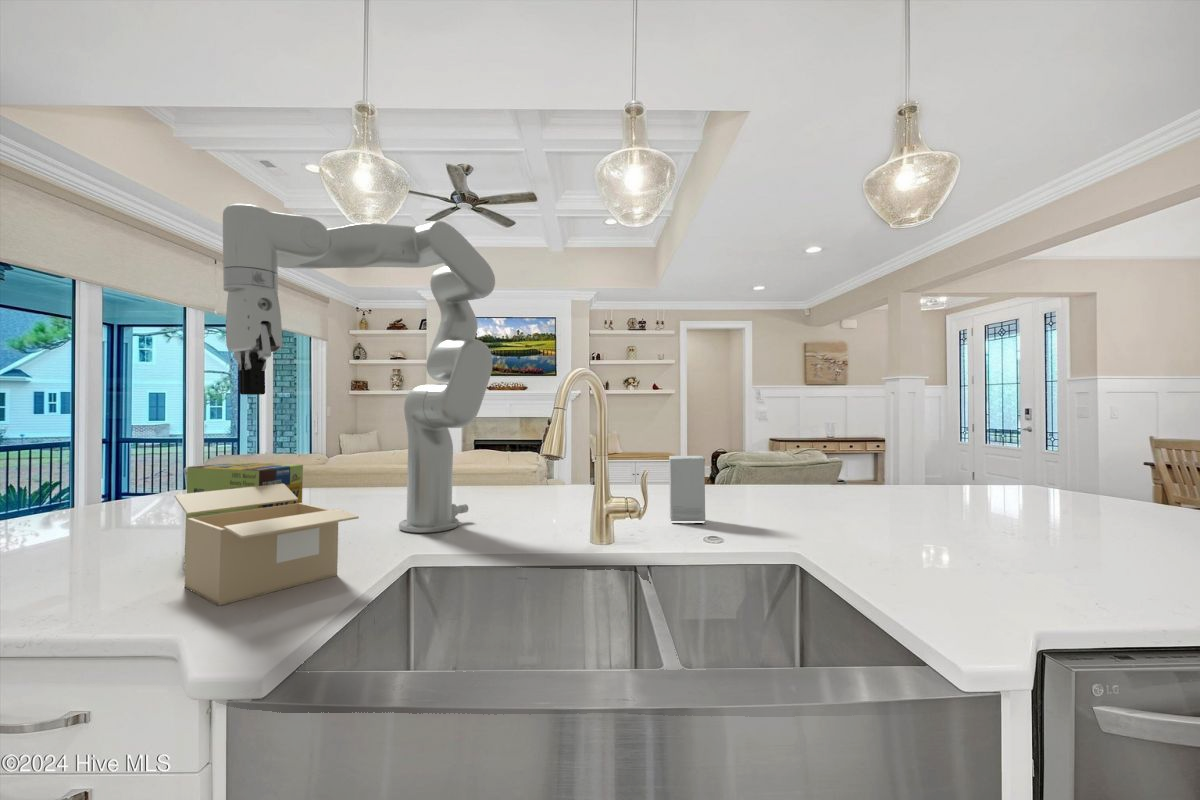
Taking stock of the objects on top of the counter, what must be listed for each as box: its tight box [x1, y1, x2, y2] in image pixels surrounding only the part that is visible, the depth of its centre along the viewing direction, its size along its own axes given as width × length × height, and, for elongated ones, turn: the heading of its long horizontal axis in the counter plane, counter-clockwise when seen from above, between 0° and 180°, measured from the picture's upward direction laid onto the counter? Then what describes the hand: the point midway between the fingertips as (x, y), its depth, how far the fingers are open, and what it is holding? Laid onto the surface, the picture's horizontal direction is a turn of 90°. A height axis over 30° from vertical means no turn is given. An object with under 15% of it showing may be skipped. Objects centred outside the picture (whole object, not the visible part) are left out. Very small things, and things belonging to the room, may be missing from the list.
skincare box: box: [668, 455, 706, 522], centre depth 126 cm, size 8×7×16 cm
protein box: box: [184, 461, 304, 553], centre depth 97 cm, size 10×15×16 cm
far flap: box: [174, 484, 298, 515], centre depth 85 cm, size 16×6×1 cm, turn 145°
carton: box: [184, 502, 339, 607], centre depth 80 cm, size 16×12×10 cm
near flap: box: [224, 508, 360, 538], centre depth 75 cm, size 16×6×1 cm, turn 145°
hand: (252, 394), depth 88 cm, fingers closed
